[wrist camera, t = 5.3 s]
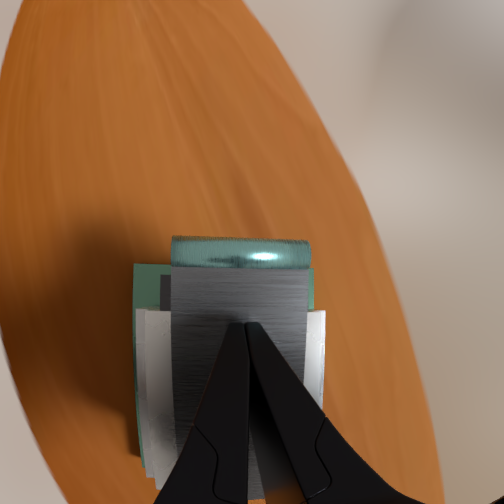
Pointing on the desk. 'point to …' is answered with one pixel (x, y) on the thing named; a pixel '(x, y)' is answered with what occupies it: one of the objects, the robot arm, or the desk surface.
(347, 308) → the desk surface
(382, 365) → the desk surface
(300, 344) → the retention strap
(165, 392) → the teal box cradle
